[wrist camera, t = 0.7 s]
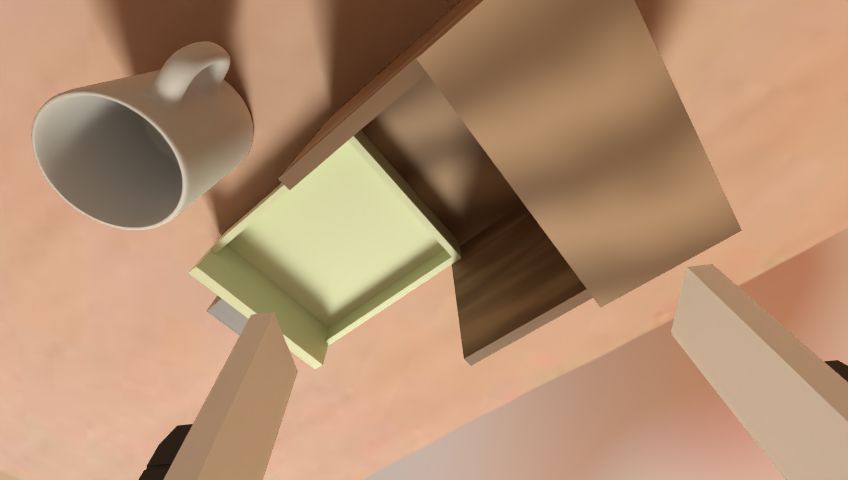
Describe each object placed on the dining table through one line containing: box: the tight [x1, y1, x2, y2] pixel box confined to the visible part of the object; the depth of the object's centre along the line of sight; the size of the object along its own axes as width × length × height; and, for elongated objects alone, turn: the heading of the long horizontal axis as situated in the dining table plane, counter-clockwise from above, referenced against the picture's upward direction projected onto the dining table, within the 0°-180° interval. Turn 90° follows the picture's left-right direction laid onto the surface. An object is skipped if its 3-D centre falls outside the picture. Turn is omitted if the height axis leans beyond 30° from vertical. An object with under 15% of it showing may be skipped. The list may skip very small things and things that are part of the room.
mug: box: [31, 41, 254, 230], centre depth 27 cm, size 12×8×11 cm
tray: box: [189, 130, 461, 369], centre depth 36 cm, size 14×20×5 cm
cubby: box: [278, 0, 742, 365], centre depth 27 cm, size 17×17×15 cm
